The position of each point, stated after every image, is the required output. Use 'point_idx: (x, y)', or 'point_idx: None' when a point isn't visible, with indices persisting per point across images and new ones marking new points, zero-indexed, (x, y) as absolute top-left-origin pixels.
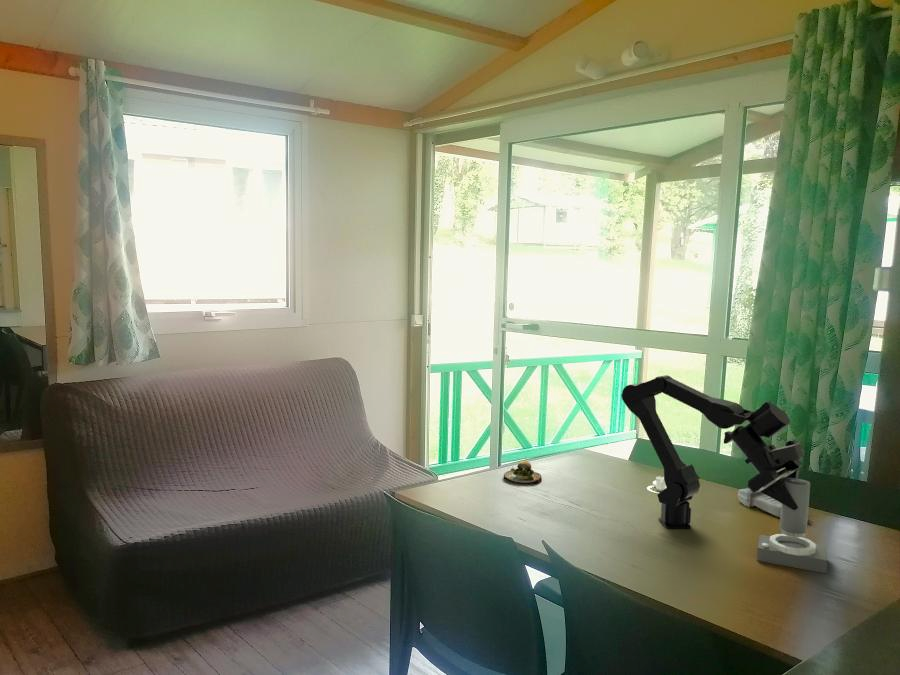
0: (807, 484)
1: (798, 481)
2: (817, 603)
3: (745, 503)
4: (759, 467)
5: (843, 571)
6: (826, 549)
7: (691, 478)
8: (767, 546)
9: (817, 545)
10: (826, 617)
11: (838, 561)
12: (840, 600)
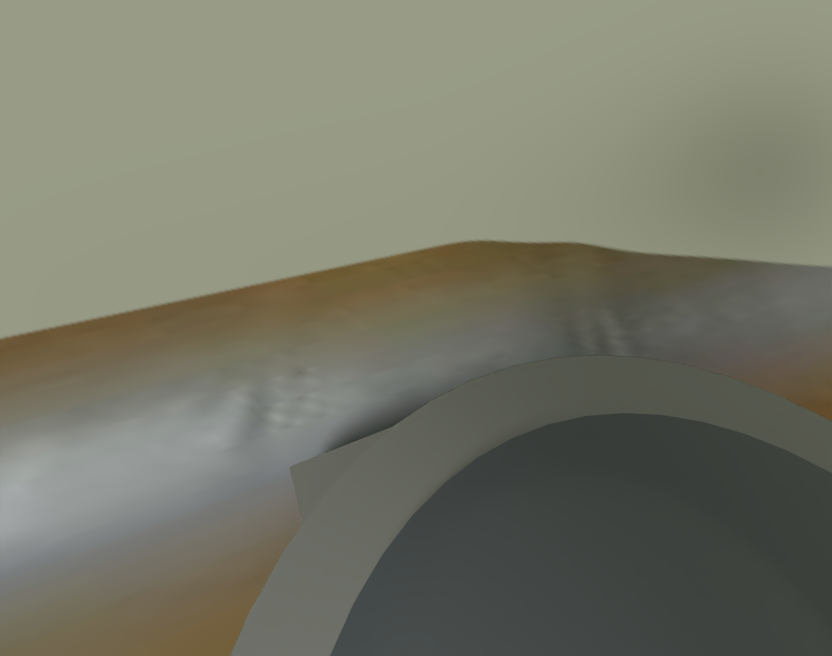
0: (626, 393)
1: None
2: (715, 348)
3: None
4: None
5: (387, 382)
6: (338, 448)
7: None
8: None
9: (314, 501)
10: (762, 304)
11: (295, 429)
12: (624, 314)
